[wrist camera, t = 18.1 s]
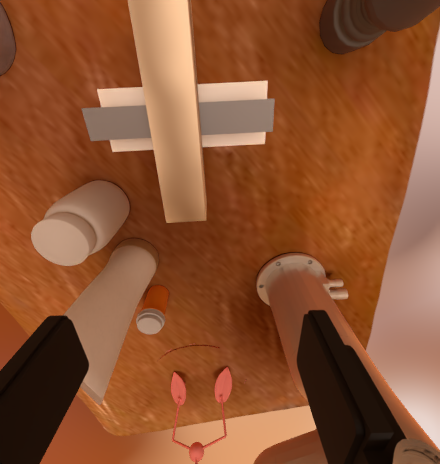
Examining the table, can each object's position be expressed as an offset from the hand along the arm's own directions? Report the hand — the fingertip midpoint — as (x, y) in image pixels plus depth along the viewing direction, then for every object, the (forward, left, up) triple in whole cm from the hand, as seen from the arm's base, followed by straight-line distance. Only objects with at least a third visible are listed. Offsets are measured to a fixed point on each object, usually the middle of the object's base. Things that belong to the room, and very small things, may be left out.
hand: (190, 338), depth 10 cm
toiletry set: (+13, +12, -28) cm, 33 cm away
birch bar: (+2, -7, -20) cm, 21 cm away
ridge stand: (+2, -7, -27) cm, 28 cm away
